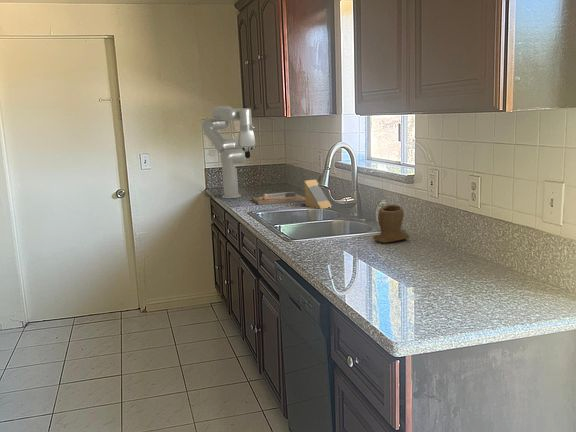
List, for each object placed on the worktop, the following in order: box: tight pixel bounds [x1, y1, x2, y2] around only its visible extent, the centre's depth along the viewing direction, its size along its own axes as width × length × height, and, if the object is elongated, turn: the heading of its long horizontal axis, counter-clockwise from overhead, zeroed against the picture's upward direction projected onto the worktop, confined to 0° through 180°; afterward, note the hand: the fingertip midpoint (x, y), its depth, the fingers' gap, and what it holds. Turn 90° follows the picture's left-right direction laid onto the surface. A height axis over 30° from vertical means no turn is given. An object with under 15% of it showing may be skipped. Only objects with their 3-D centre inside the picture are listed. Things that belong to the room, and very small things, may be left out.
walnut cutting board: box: [251, 193, 305, 206], centre depth 360 cm, size 19×30×2 cm, turn 106°
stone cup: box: [372, 204, 410, 244], centre depth 236 cm, size 15×12×15 cm
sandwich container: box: [304, 179, 332, 210], centre depth 330 cm, size 9×15×15 cm, turn 34°
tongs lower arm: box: [258, 194, 296, 200], centre depth 360 cm, size 23×4×1 cm, turn 106°
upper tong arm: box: [262, 191, 297, 197], centre depth 360 cm, size 20×4×2 cm, turn 106°
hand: (247, 158), depth 360 cm, fingers closed
